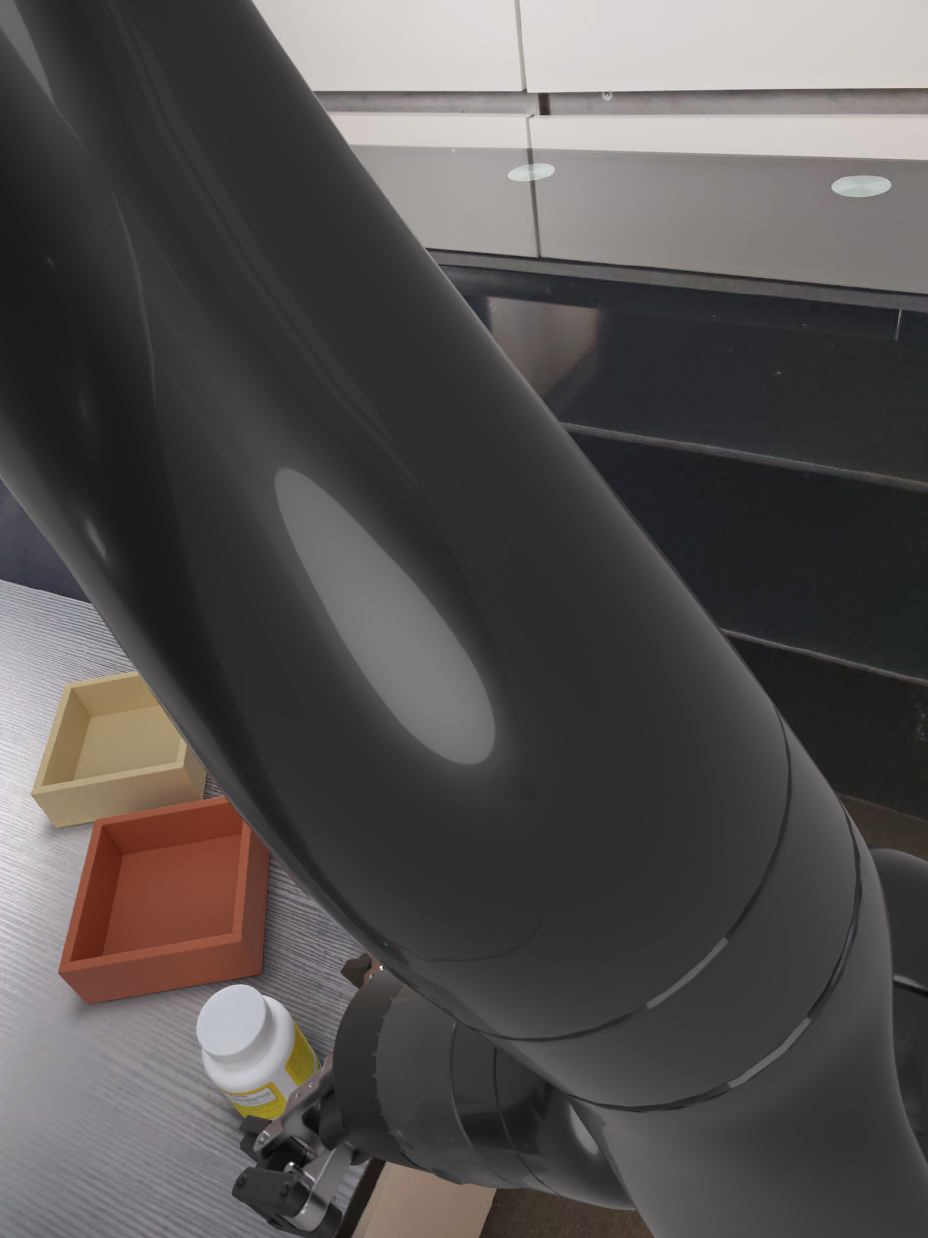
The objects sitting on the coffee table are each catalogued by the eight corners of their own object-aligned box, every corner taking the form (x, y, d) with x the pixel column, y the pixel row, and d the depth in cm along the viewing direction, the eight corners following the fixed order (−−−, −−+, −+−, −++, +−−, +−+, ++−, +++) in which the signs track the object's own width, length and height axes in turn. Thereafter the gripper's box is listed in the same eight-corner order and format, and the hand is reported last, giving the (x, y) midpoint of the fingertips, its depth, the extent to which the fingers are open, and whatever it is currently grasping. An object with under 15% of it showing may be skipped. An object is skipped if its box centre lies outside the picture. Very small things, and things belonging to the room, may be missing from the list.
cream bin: (202, 802, 75) (183, 767, 72) (56, 828, 76) (30, 795, 72) (218, 693, 84) (201, 658, 81) (87, 717, 85) (65, 683, 82)
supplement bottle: (291, 1026, 60) (244, 953, 54) (341, 1084, 57) (298, 1014, 50) (223, 1091, 58) (165, 1022, 51) (271, 1155, 54) (217, 1091, 48)
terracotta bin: (261, 974, 63) (240, 941, 60) (87, 1004, 63) (57, 973, 60) (272, 825, 72) (254, 790, 69) (119, 853, 73) (94, 819, 70)
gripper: (489, 843, 37) (334, 890, 50) (278, 1199, 29) (156, 1147, 42) (616, 957, 38) (433, 975, 51) (450, 1333, 30) (280, 1242, 43)
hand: (309, 1052), depth 46 cm, fingers open, 8 cm apart
